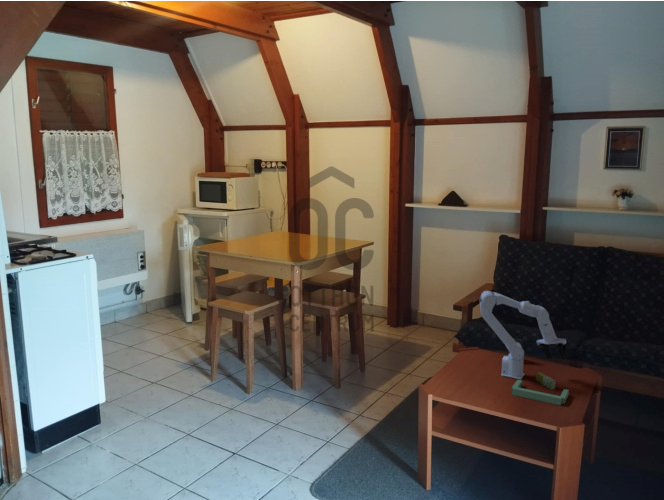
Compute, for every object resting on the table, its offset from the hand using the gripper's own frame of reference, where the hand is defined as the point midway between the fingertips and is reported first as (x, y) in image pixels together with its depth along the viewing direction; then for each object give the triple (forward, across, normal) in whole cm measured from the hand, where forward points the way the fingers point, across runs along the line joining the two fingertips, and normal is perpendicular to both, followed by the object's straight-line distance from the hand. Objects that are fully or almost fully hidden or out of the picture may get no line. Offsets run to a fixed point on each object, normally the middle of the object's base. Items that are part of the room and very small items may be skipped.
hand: (557, 357), depth 261 cm
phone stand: (+4, +28, -4) cm, 29 cm away
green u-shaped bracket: (+5, -4, +26) cm, 27 cm away
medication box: (+8, +2, +13) cm, 15 cm away
